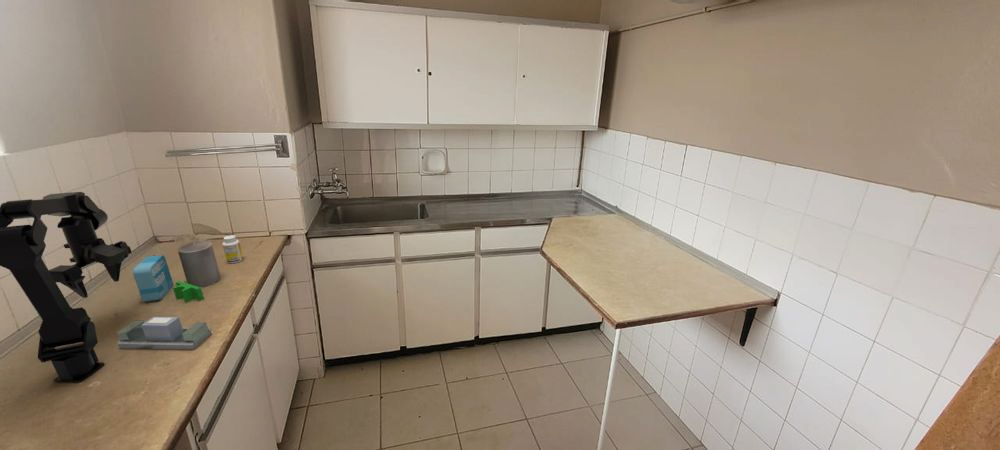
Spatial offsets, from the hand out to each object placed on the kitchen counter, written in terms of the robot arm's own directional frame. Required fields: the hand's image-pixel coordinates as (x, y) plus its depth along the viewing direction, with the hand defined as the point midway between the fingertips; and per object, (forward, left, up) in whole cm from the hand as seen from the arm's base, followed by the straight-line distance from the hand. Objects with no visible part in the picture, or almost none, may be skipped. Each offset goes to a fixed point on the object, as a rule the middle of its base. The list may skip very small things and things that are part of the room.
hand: (101, 289), depth 112 cm
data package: (+18, +2, -12) cm, 22 cm away
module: (-7, -21, -10) cm, 24 cm away
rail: (-7, -21, -12) cm, 25 cm away
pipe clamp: (+16, -9, -12) cm, 22 cm away
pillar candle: (+27, -7, -12) cm, 30 cm away
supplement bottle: (+44, -7, -12) cm, 46 cm away
